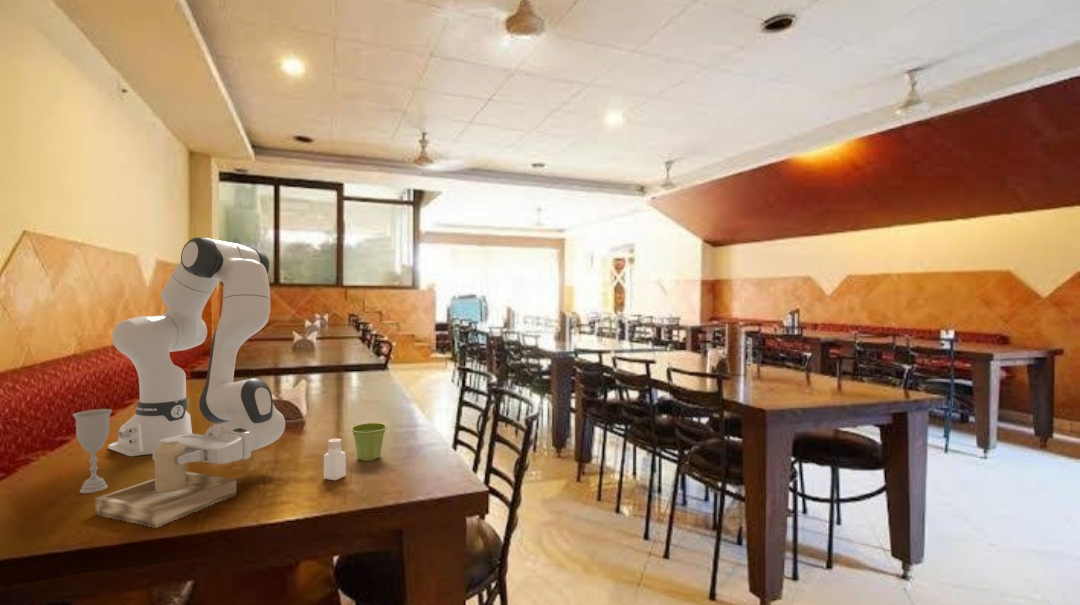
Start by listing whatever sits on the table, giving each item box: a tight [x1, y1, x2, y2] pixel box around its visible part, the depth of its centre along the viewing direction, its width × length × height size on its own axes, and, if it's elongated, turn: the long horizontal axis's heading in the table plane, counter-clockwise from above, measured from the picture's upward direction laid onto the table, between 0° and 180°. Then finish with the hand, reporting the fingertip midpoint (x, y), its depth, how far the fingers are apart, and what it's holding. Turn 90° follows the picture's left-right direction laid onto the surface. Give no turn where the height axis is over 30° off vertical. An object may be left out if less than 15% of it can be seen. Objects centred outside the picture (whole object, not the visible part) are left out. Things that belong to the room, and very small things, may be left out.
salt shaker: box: [323, 438, 347, 481], centre depth 132 cm, size 4×4×10 cm
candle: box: [153, 441, 187, 493], centre depth 114 cm, size 6×6×10 cm
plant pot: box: [350, 422, 388, 462], centre depth 147 cm, size 9×9×9 cm
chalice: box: [72, 408, 113, 494], centre depth 123 cm, size 7×7×18 cm
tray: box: [94, 470, 237, 530], centre depth 115 cm, size 18×18×4 cm
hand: (165, 458), depth 113 cm, fingers closed on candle, 5 cm apart
